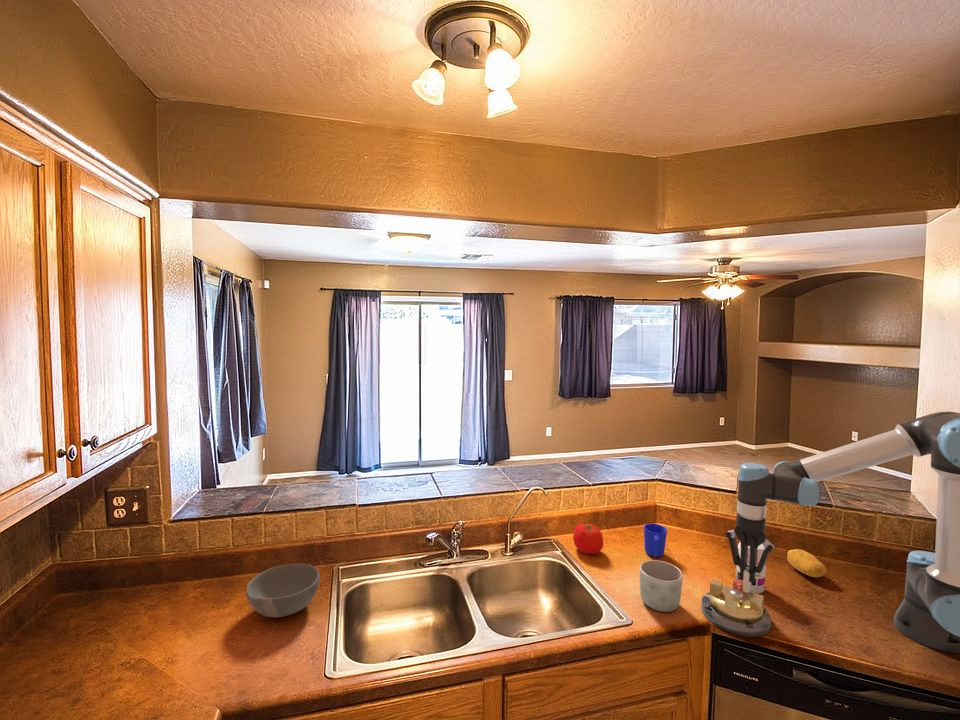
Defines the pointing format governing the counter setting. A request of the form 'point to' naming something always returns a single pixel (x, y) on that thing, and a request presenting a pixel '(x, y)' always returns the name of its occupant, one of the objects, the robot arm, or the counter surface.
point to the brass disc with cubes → (736, 602)
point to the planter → (660, 585)
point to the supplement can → (759, 581)
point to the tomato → (588, 538)
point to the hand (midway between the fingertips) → (746, 590)
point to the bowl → (283, 589)
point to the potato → (806, 563)
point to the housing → (734, 626)
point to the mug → (654, 539)
